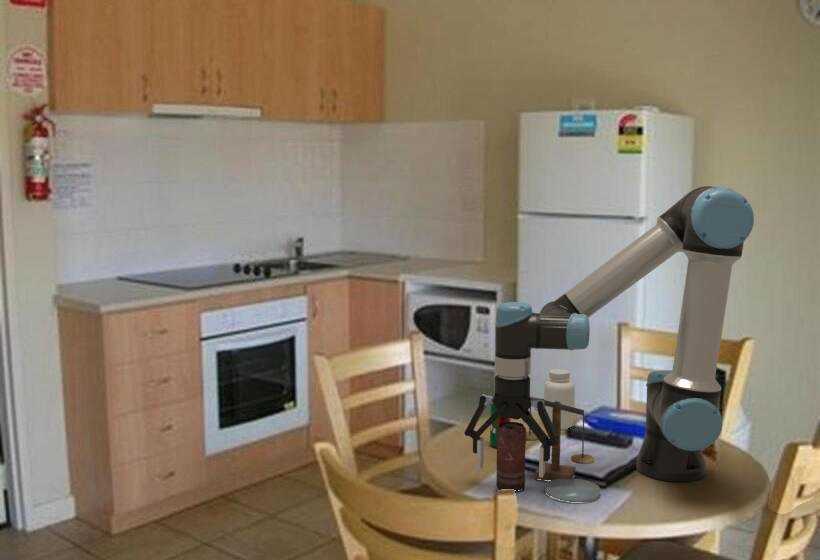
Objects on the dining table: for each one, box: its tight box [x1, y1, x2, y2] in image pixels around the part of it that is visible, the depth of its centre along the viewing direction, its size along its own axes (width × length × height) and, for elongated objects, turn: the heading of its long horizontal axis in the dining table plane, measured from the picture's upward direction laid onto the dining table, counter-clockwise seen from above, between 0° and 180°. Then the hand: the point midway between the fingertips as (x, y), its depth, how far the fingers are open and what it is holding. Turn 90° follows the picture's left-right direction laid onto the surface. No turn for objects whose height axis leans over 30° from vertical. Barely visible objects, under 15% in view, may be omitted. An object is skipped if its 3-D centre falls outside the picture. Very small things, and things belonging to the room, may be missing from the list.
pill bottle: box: [543, 368, 576, 431], centre depth 233 cm, size 8×8×15 cm
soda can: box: [489, 402, 512, 449], centre depth 218 cm, size 5×5×12 cm
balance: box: [526, 396, 595, 480], centre depth 195 cm, size 17×6×18 cm, turn 71°
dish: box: [544, 477, 601, 503], centre depth 187 cm, size 12×12×1 cm
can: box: [496, 421, 527, 491], centre depth 189 cm, size 6×6×14 cm
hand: (510, 471), depth 190 cm, fingers open, 13 cm apart
